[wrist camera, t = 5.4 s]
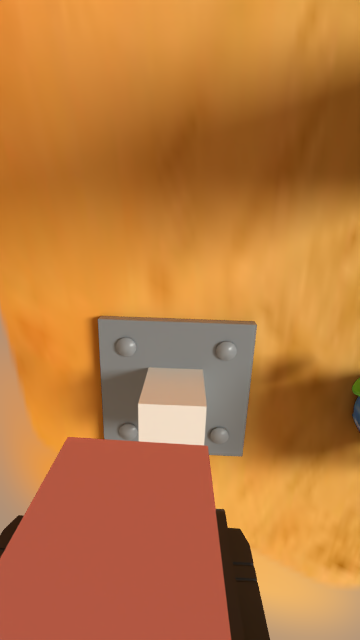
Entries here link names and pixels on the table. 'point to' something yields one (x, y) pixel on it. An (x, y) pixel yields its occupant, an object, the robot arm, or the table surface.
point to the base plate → (182, 353)
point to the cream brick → (172, 407)
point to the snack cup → (357, 403)
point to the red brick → (117, 548)
